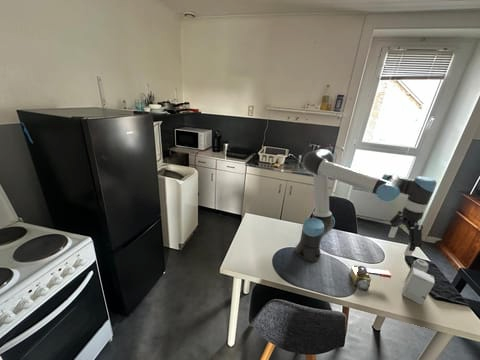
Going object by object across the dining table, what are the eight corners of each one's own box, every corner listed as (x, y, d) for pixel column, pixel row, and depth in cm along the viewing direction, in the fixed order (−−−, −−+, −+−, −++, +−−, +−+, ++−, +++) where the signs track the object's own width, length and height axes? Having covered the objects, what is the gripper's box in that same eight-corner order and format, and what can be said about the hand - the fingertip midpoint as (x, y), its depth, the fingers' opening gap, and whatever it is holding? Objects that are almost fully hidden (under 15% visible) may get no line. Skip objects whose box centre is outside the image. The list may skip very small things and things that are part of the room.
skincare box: (401, 295, 104) (412, 273, 99) (402, 287, 108) (412, 266, 103) (422, 305, 99) (435, 283, 94) (422, 297, 103) (434, 275, 98)
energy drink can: (414, 289, 108) (425, 268, 102) (402, 280, 113) (412, 259, 107) (421, 286, 110) (432, 264, 104) (409, 277, 115) (419, 256, 110)
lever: (359, 274, 107) (360, 271, 106) (356, 268, 111) (356, 265, 111) (391, 279, 105) (392, 276, 104) (386, 272, 109) (388, 269, 109)
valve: (370, 292, 105) (374, 283, 103) (356, 289, 106) (359, 280, 104) (360, 272, 117) (363, 264, 115) (348, 270, 118) (350, 262, 115)
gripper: (444, 225, 84) (424, 264, 92) (405, 197, 107) (392, 231, 115) (424, 223, 84) (406, 262, 92) (390, 196, 107) (378, 230, 115)
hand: (398, 245), depth 103 cm, fingers open, 13 cm apart
